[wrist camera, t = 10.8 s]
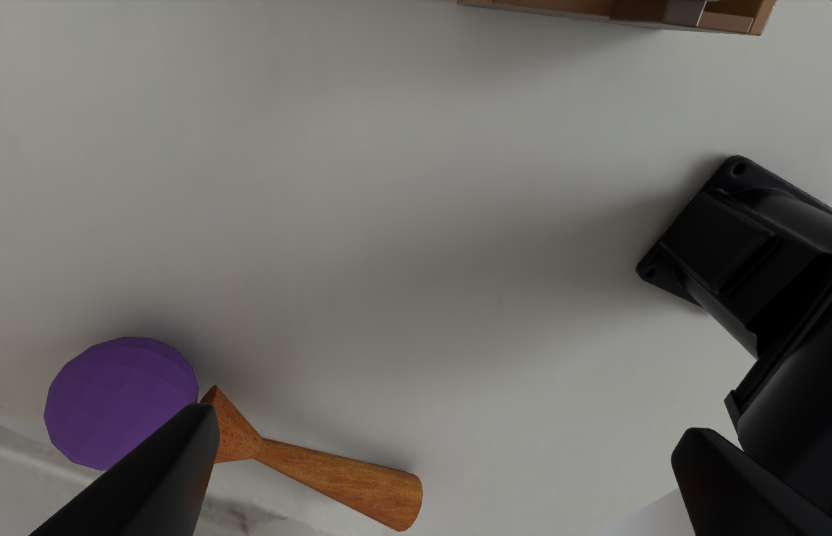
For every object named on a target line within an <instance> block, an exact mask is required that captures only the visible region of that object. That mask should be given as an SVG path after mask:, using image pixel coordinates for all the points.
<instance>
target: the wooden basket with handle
mask: <svg viewBox="0 0 832 536" xmlns="http://www.w3.org/2000/svg"><path fill="white" fill-rule="evenodd" d="M776 1H777V0H457V4H458V5H466V6H474V7H482V8H491V9H499V10H507V11H516V12H524V13H532V14H540V15H549V16H557V17H565V18H574V19H582V20H590V21H598V22H607V23H615V24H623V25H632V26H640V27H648V28H657V29H665V30H680V31H695V32H710V33H725V34H741V35H756V36H760V35H762V33H763V30H764V28H765V26H766V24H767V21H768V19H769V17H770V15H771V12H772V10H773V8H774V5H775V3H776Z"/></svg>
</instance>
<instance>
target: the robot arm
mask: <svg viewBox="0 0 832 536" xmlns="http://www.w3.org/2000/svg"><path fill="white" fill-rule="evenodd" d="M738 164H739V167H738V169H737V170H736V171H735V172H733V169H734V167H735V166H737V165H738ZM649 268H651V270H650V271H649V272H646V270H647V269H649ZM645 272H646V273H645ZM636 273H637V274H638V276H639V277H640V278H641V279H642V280H644V281H646V282H648V283H650V284H653V285H655V286H657V287H659V288H661V289H663V290H666V291H668V292H670V293H672V294H674V295H676V296H679V297H681V298H683V299H685V300H687V301H689V302H692V303H694V304H696V305H698V306H700V307H703V308H704V309H705V310H707V311H708V312H709V313H710V314H711V315H712V316H713V317H714V318H715V319H716V320H717V321H718V322H719V323H720V324H721V325H722V326H723V327H724V328H725V329H726V330H727V331H728V332H729V333H730V334H731V335H732V336H733V337H734V338H735V339H736V340H737V341H738V342H739V343H740V344H741V345H742V346H743V347H744V348H745V349H746V350H747V351H748V352H749V353H750V354H751V355H752V356H753V357H754V358H755V359H756V360H757V361H756V363H755V364H754V365H753V367H752V368H751V369H750V371H749V372H748V373H747V375H746V376H745V377H744V379H743V380H742V381H741V383H740V384H739V386H738V387H737V388H736V390H731V391H730V393H729V394H728V395H727V397H726V398H725V400H724V403H725V405H726V408H727V410H728V413H729V415H730V418H731V420H732V423H733V425H734V428H735V430H736V432H737V435H738V440H739V442H740V444H741V447H742V449H743V451H744V452H743V451H742V450H740V449H739V448H738V447H736V446H735V445H734V444H732V443H731V442H730V441H728V440H727V439H725V438H724V437H723V436H721V435H720V434H719V433H717V432H716V431H714V430H712V429H709V428H695V427H692V428H689V429H687V430H686V431H685V433H684V434H683V436H682V437H681V439H680V441H679V442H678V444H677V446H676V447H675V449H674V451H673V453H672V456H671V464H672V468H673V471H674V474H675V477H676V480H677V483H678V486H679V489H680V491H681V494H682V497H683V500H684V503H685V506H686V509H687V512H688V515H689V518H690V521H691V523H692V526H693V529H694V532H695V535H696V536H832V208H831V207H829V206H827V205H826V204H824V203H822V202H821V201H819V200H817V199H816V198H814V197H812V196H810V195H809V194H807V193H805V192H804V191H802V190H800V189H799V188H797V187H795V186H794V185H792V184H790V183H788V182H787V181H785V180H783V179H782V178H780V177H778V176H777V175H775V174H773V173H771V172H770V171H768V170H766V169H765V168H763V167H761V166H760V165H758V164H756V163H755V162H753V161H751V160H749V159H747V158H745V157H743V156H740V155H735V156H732V157H730V158H728V159H727V160H726V161H725V162H724V163H723V164H722V165H721V166H720V168H719V169H718V170H717V171H716V172H715V173H714V175H713V176H712V177H711V178H710V179H709V181H708V182H707V183H706V184H705V185H704V187H703V188H702V189H701V190H700V191H699V193H698V194H697V195H696V196H695V197H694V199H693V200H692V201H691V202H690V203H689V204H688V206H687V207H686V208H685V209H684V210H683V212H682V213H681V214H680V215H679V216H678V218H677V219H676V220H675V221H674V222H673V224H672V225H671V226H670V227H669V228H668V229H667V231H666V232H665V233H664V234H663V235H662V237H661V238H660V239H659V240H658V241H657V243H656V244H655V245H654V246H653V247H652V249H651V250H650V251H649V252H648V253H647V255H646V256H645V257H644V258H643V259H642V260H641V262H640V263H639V264H638V266H637V267H636ZM219 444H220V429H219V424H218V418H217V413H216V408H215V406H214V405H213V404H210V403H190V404H188V405H186V406H185V407H184V408H182V409H181V410H180V411H179V412H178V413H176V414H175V415H174V416H173V417H171V418H170V419H169V420H168V421H167V422H165V423H164V424H163V425H162V426H161V427H159V428H158V429H157V430H156V431H155V432H153V433H152V434H151V435H150V436H148V437H147V438H146V439H145V440H144V441H142V442H141V443H140V444H139V445H138V446H136V447H135V448H134V449H133V450H132V451H130V452H129V453H128V454H127V455H125V456H124V457H123V458H122V459H121V460H119V461H118V462H117V463H116V464H115V465H113V466H112V467H111V468H110V469H108V470H107V471H106V472H105V473H104V474H102V475H101V476H100V477H99V478H98V479H96V480H95V481H94V482H93V483H92V484H90V485H89V486H88V487H87V488H85V489H84V490H83V491H82V492H81V493H79V494H78V495H77V496H76V497H75V498H73V499H72V500H71V501H70V502H69V503H67V504H66V505H65V506H64V507H62V508H61V509H60V510H59V511H58V512H56V513H55V514H54V515H53V516H52V517H50V518H49V519H48V520H47V521H46V522H44V523H43V524H42V525H41V526H39V527H38V528H37V529H36V530H35V531H34V532H32V533H31V534H30V535H29V536H193V533H194V530H195V527H196V523H197V520H198V517H199V513H200V510H201V507H202V503H203V500H204V496H205V493H206V489H207V486H208V483H209V479H210V476H211V472H212V469H213V465H214V462H215V458H216V455H217V452H218V448H219Z"/></svg>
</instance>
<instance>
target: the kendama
mask: <svg viewBox="0 0 832 536" xmlns="http://www.w3.org/2000/svg"><path fill="white" fill-rule="evenodd" d="M198 391H199V388H198V385H197V381H196V378H195V375H194V372H193V369H192V367H191V365H190V364H189V363H188V362H187V361H186V360H185V359H184V358H183V357H182V356H181V355H180V354H179V353H178V352H177V351H176V350H175V348H173V347H170V346H168V345H166V344H163V343H161V342H159V341H156V340H154V339H152V338H135V337H121V338H117V339H114V340H110V341H107V342H103V343H100V344H96V345H93V346H91V347H90V348H88V349H87V350H85V351H84V352H82V353H81V354H80V355H78V356H77V357H75V358H74V359H72V360H71V361H69V362H68V363H67V364H66V365H65V366H64V367H63V368H62V369H61V371H60V372H59V373H58V375H57V376H56V378H55V379H54V381H53V382H52V384H51V386H50V388H49V392H48V397H47V402H46V407H45V412H44V420H45V423H46V426H47V430H48V433H49V436H50V440H51V443H52V444H53V445H54V446H55V447H56V448H57V449H59V450H60V451H61V452H62V453H63V454H64V455H65V456H66V457H67V458H68V459H69V460H70V461H71V462H73V463H77V464H80V465H84V466H87V467H90V468H94V469H97V470H100V471H103V470H108V469H110V468H111V467H112V466H113V465H115V464H116V463H117V462H118V461H119V460H121V459H122V458H123V457H124V456H125V455H127V454H128V453H129V452H130V451H132V450H133V449H134V448H135V447H136V446H138V445H139V444H140V443H141V442H142V441H144V440H145V439H146V438H147V437H148V436H150V435H151V434H152V433H153V432H155V431H156V430H157V429H158V428H159V427H161V426H162V425H163V424H164V423H165V422H167V421H168V420H169V419H170V418H171V417H173V416H174V415H175V414H176V413H178V412H179V411H180V410H181V409H182V408H184V407H185V406H186V405H188V404H190V403H197V398H198ZM200 403H210V404H213V405H214V406H215V408H216V413H217V418H218V424H219V429H220V444H219V448H218V452H217V455H216V458H215V462H214V463H221V462H229V461H237V460H244V459H252V458H253V459H255V460H257V461H259V462H261V463H263V464H265V465H267V466H269V467H271V468H273V469H275V470H277V471H279V472H281V473H283V474H285V475H287V476H289V477H290V478H292V479H294V480H296V481H298V482H300V483H302V484H304V485H306V486H308V487H310V488H312V489H314V490H316V491H318V492H320V493H322V494H324V495H326V496H328V497H330V498H332V499H334V500H336V501H338V502H340V503H342V504H344V505H346V506H348V507H350V508H352V509H354V510H356V511H358V512H360V513H362V514H364V515H366V516H368V517H370V518H372V519H374V520H376V521H378V522H380V523H382V524H384V525H386V526H388V527H390V528H392V529H394V530H396V531H398V532H399V531H405V530H407V529H408V528H409V527H411V526H412V524H413V523H414V521H415V520H416V518H417V516H418V513H419V511H420V508H421V504H422V496H423V492H422V484H421V482H420V480H419V478H418V477H417V476H416V475H414V474H411V473H407V472H403V471H398V470H394V469H390V468H386V467H382V466H378V465H374V464H369V463H365V462H361V461H357V460H353V459H349V458H345V457H340V456H336V455H332V454H328V453H324V452H320V451H315V450H311V449H307V448H303V447H299V446H295V445H291V444H286V443H282V442H278V441H274V440H270V439H266V438H262V437H261V436H260V435H259V434H258V433H257V431H256V430H255V429H254V428H253V427H252V426H251V425H250V423H249V422H248V421H247V420H246V419H245V418H244V417H243V415H242V414H241V413H240V412H239V411H238V410H237V409H236V407H235V406H234V405H233V404H232V403H231V402H230V401H229V399H228V398H227V397H226V396H225V395H224V394H223V393H222V391H221V390H220V389H219V388H218V387H217V386H216V385H214V386H213V387H212V388H210V389H209V391H208V392H207V393H206V394H205V396H204V397H203V398H202V400H201V401H200Z"/></svg>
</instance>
